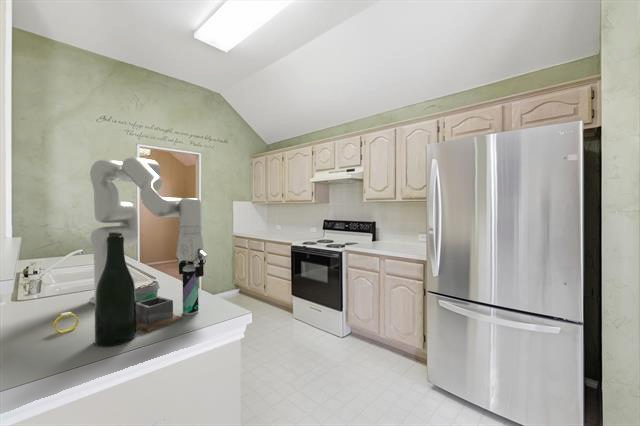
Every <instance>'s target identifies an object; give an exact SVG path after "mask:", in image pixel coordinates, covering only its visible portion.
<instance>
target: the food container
mask: <svg viewBox="0 0 640 426" xmlns="http://www.w3.org/2000/svg"><path fill="white" fill-rule="evenodd" d="M159 289H160V284H159V281H157V280H152V282H151V283H148V284H144V285H141V286H138V287H137V288H136V287H135V293H136V303H137V302H141V301H144V300H148V299H151V298H155V297H158V293H159V292H158V290H159Z"/></svg>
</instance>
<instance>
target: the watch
mask: <svg viewBox="0 0 640 426" xmlns="http://www.w3.org/2000/svg"><path fill="white" fill-rule="evenodd" d="M70 316H72V317H74V318H75V324H74V325H73V326H71V328H68V329H64V330H59V329H57V328H56V324H57V323H58V321H59V320H60V319H62V318H65V317H70ZM78 324H79V318H78V316H77V315H76V314H74V313H73V312H71V311H66V312H62V313H61V314H60V315H59V316H57V318H56V319H55V320H54V322H53V323H52V326H53V330H55V332H57V333H59V334H63V333H67V332H71V331H73V330H75V329H76V328H77V326H78Z"/></svg>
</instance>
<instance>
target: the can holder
mask: <svg viewBox="0 0 640 426" xmlns="http://www.w3.org/2000/svg"><path fill="white" fill-rule="evenodd" d="M136 320H137V330H138V329H139V330H141V331H143V332H146V333H151V332H153V331H155V330H158V329H161V328H164V327H167V326H169V325H172V324H174V323H177V322H179V321H182V320H183V316H180V315H178V314H174V300H173V299H169V298H165V297H162V296H157V297H155V298H151V299H148V300H144V301H141V302H137V303H136Z"/></svg>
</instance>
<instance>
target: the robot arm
mask: <svg viewBox="0 0 640 426" xmlns="http://www.w3.org/2000/svg"><path fill="white" fill-rule="evenodd" d="M89 173H90V175H89V176H90V182H91V184H92V189H93V202H94V203H93V204H94V205H93V208H94V209H93V210H94V218H95V220H96V221H97V222H99V223H100V224H101V223H102V224H113V223H114V224H118V223H119V225H108V226H100V227H97V228H94V230H93V231H92V232H91V234H90V236H89V238H90V244H91V248H92V252H93V279H94V281H93V286H94V295H93V297H91V298H90V299H89V303H90V304H93V305H95V293H96V287H97V283H98V281H99V279H100V276H101V274H102V272H103V269H104V266H105V263H106V255H107V242H106V239H107V237H109V235H108V234H109V233H110V232H122V236H123V237H124V247H129V246H132V245H134V244H135V243H136V242H137V240H138V235H139V234H138V233H139V232H138V231H139V229H138V227H139V224H138V220H139V219H138V210H137V207H136V206H135V205H134V204H133V203H132V202H130V201H127V200H126V201H124V200H123V201H120V197H119V195H120V193H119V189H118V187H117V186H116V184H115V183H114V182H113V181H118V182H127V183H134V184H135V185H136V186H137V187H138V188H139V189H140V200H141V203H142V204H143V206H144V207H145V208H146V209H147V210H148V211H149V212H150V213H151V214H152V215H153V216H155V217H157V218H179V234H178V237H177V246H176V251H175V257H176V260H177V264H178V275H183V267H185V266H186V265H187V264H188V261H190V262H192V261H193V263H194V264H195V265H196V266H197V267H195V277H198V278H200V277H203V276H204V274H205V273H204V267H205V264H206V262H207V258H208V255H207V253H205V252H204V241H203V236H202V201H201V200H200V198H196V197H195V198H194V197H185V198H182V197H167V196H166V197H163V196H161V195H160V193H158V191H159V190H160V189H161V188H162V186H163V184H164V183H163V179H162V177H161V175H162V169H161V165H160V164H159V163H158V162H157V161H156V160H154V159H151V158H149V159H148V158H143V157H138V156H130V157H127V158H125V159H124V160H123V161H122V160H115V159H107V158H105V159H104V158H103V159H99V160H96V161H95V162H94V163H93V164H92V165H91V167H90V171H89Z"/></svg>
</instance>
